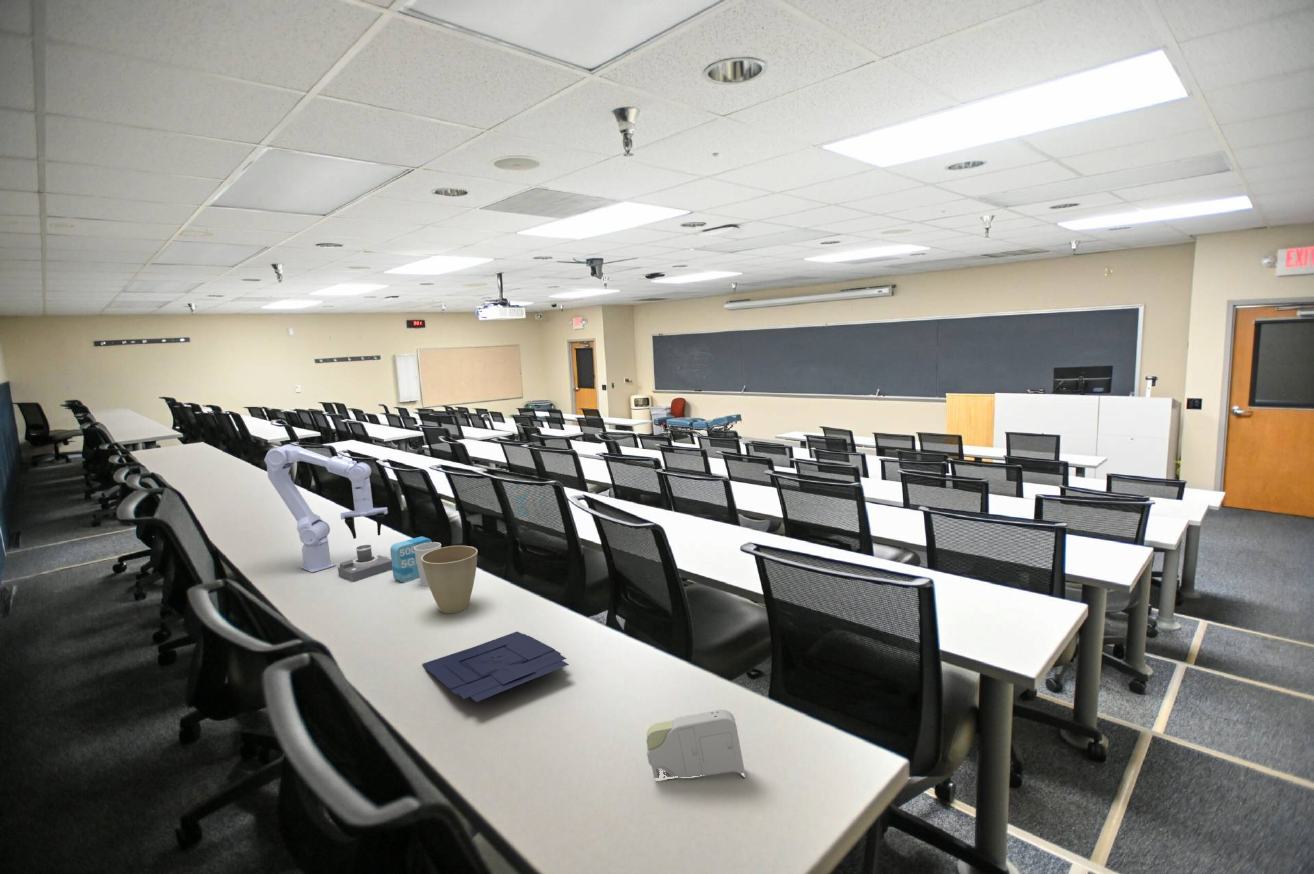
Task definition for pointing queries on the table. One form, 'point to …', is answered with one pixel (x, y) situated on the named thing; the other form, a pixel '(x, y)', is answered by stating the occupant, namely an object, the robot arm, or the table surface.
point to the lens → (364, 553)
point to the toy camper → (695, 745)
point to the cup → (419, 552)
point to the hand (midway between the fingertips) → (367, 536)
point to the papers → (495, 665)
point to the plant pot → (451, 576)
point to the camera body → (364, 568)
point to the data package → (406, 559)
